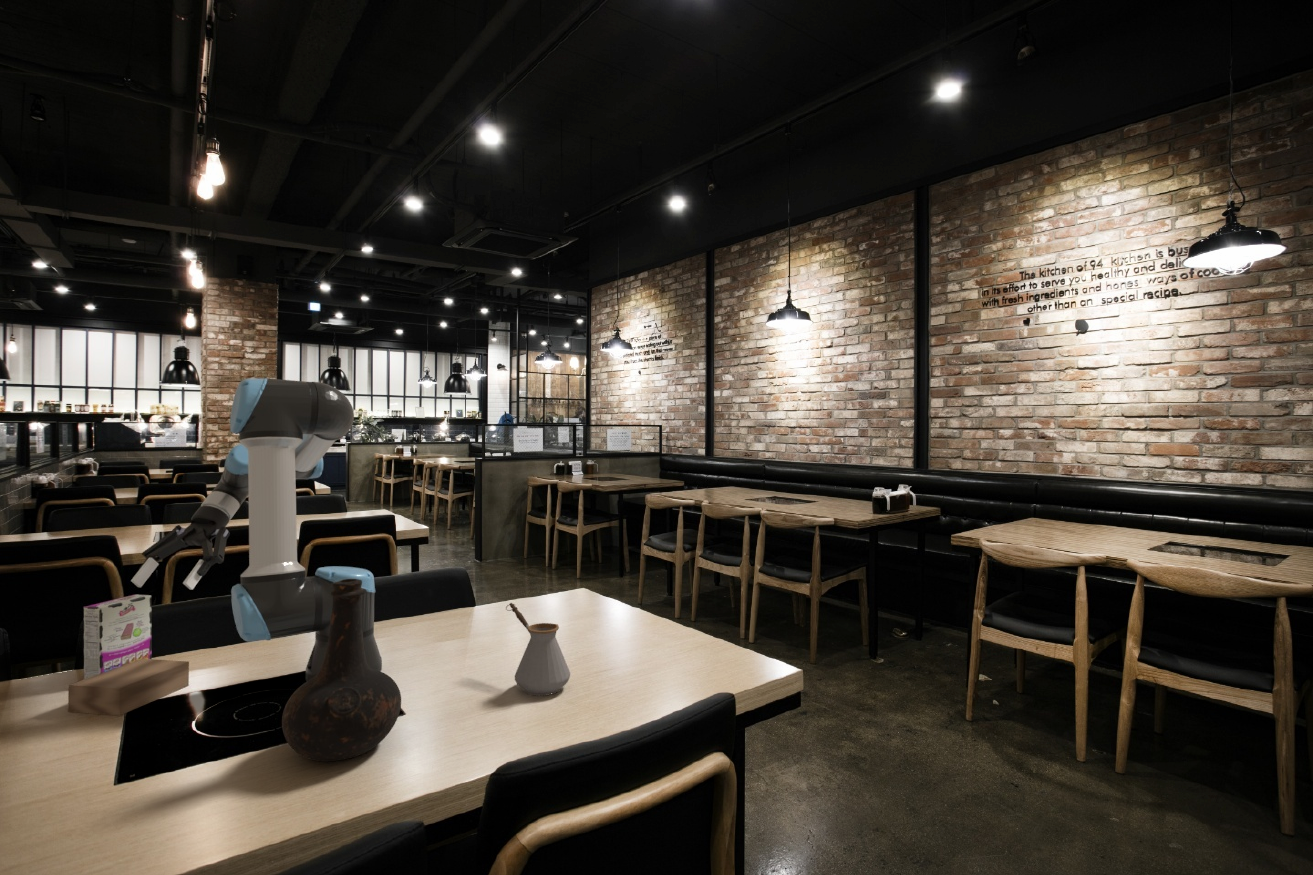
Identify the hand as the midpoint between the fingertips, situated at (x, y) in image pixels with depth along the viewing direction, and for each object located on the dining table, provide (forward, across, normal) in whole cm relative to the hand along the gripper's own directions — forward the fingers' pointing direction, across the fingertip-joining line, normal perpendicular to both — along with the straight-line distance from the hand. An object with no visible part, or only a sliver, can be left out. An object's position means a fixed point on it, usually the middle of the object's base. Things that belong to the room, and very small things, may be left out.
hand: (161, 585), depth 150 cm
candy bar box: (+20, 0, -5) cm, 20 cm away
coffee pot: (+12, -89, -13) cm, 91 cm away
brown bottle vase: (+36, -68, +11) cm, 78 cm away
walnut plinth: (+27, -14, +2) cm, 30 cm away
